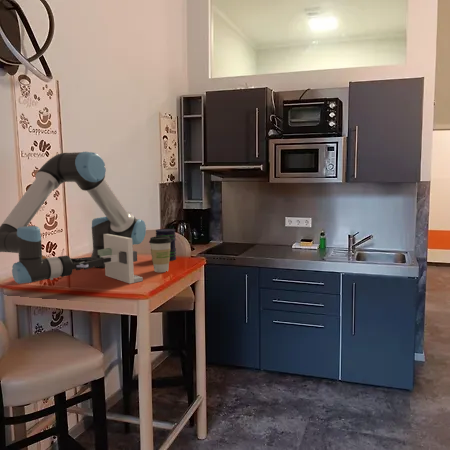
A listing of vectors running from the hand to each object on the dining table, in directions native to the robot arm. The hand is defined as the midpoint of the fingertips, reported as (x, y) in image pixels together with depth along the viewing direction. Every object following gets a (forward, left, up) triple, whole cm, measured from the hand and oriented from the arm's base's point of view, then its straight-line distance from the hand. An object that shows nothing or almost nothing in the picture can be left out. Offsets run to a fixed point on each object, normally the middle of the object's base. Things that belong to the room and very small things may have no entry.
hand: (116, 257), depth 186 cm
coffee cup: (-8, +25, -11) cm, 28 cm away
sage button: (-12, +1, -2) cm, 12 cm away
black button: (-1, +5, -2) cm, 6 cm away
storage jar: (-30, +40, -11) cm, 51 cm away
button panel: (-7, +6, -10) cm, 13 cm away
